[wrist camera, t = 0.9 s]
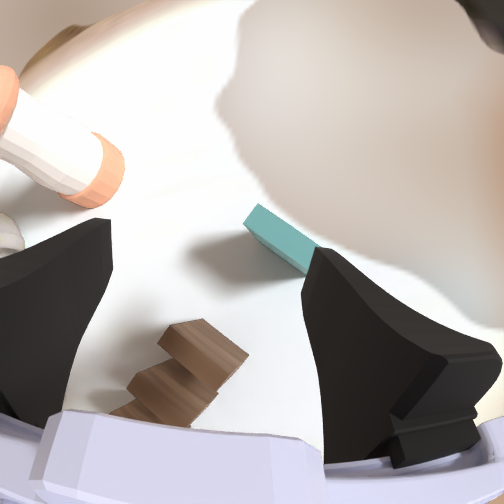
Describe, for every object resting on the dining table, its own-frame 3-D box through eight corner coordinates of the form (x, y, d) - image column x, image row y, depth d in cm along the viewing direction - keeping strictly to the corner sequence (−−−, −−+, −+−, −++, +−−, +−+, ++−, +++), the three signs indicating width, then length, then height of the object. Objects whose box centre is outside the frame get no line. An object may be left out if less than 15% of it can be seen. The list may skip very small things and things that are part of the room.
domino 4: (270, 226, 27) (257, 203, 20) (319, 260, 26) (323, 248, 19) (259, 241, 27) (242, 223, 20) (308, 276, 26) (308, 270, 19)
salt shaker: (64, 202, 32) (-75, 143, 13) (86, 142, 32) (-34, 58, 13) (111, 214, 30) (-47, 143, 11) (134, 147, 31) (7, 39, 12)
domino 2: (202, 318, 27) (169, 325, 20) (249, 354, 26) (229, 374, 19) (192, 332, 27) (157, 343, 20) (238, 369, 26) (215, 392, 19)
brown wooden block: (174, 357, 27) (136, 373, 20) (218, 393, 26) (191, 421, 19) (165, 369, 27) (126, 388, 20) (208, 405, 26) (179, 435, 19)
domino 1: (149, 391, 27) (109, 413, 20) (191, 426, 26) (159, 458, 19) (141, 402, 27) (101, 425, 20) (182, 436, 26) (150, 468, 19)
